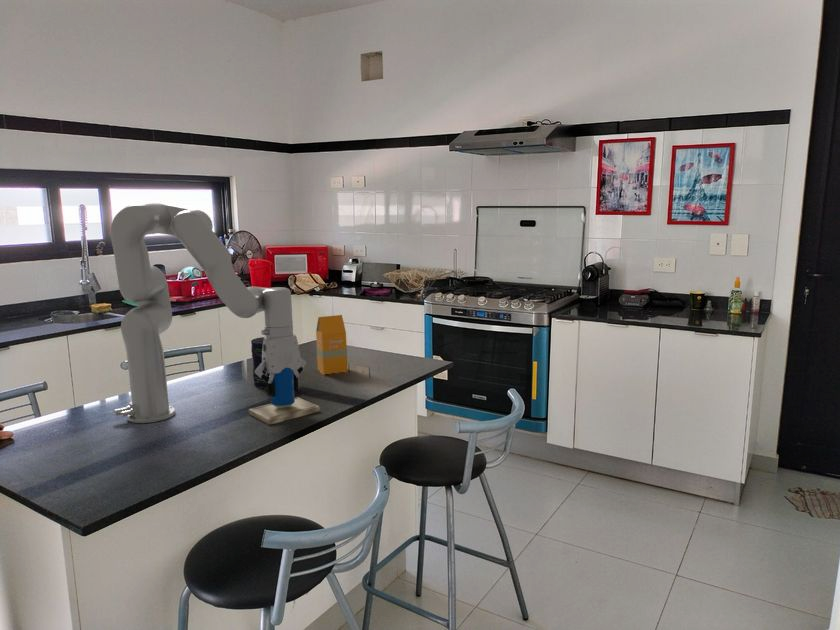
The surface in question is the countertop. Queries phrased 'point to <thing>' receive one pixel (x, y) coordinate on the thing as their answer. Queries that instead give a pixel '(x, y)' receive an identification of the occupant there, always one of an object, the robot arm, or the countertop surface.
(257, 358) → the storage jar
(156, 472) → the countertop surface
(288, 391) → the beverage can
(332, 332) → the orange juice
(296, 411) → the bamboo board
